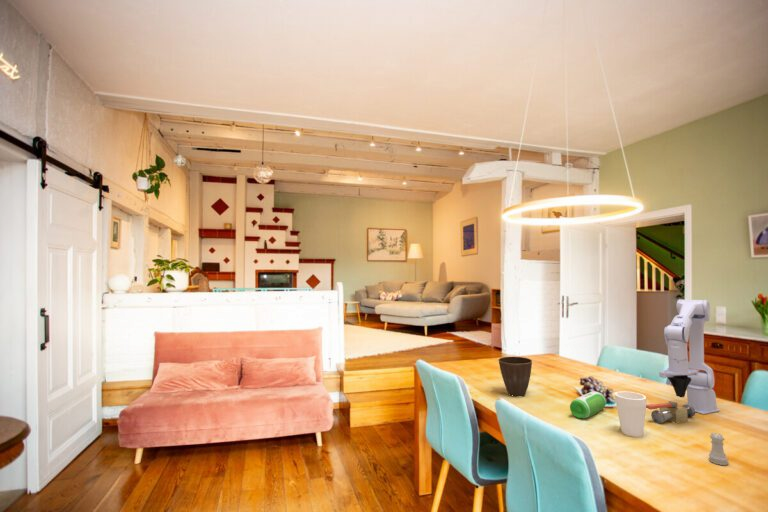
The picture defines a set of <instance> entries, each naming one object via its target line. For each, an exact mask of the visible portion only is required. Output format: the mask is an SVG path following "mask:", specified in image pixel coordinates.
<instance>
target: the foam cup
mask: <svg viewBox="0 0 768 512" xmlns="http://www.w3.org/2000/svg"><path fill="white" fill-rule="evenodd" d="M647 400H648V399H647V397H646V395H644V394H642V393H638V392H636V391H635V392H633V391H624V390H623V391H622V390H621V391H620V390H619V391H616V392H614V401H615V404H616V405H615V406H616V410H617V415H618V419H619V426H620V430H621V433H622V434H624V435H625V434H626V436H629V437H632V438H633V437H634V438H635V437H636V438H640V437H643V436H644V433H645V431H644V430H645V420H646V411H647V408H646V405H648V401H647Z"/></svg>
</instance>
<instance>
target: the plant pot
mask: <svg viewBox="0 0 768 512" xmlns="http://www.w3.org/2000/svg"><path fill="white" fill-rule="evenodd" d="M498 364H499V369H500V374H501V377H502V380H503V384H504V386H505V388H506V389H505V390H506V391H507V394H508V395H509V394H510V395H509V396H511V395H513V396H512V397H514V396H522V397H525V396H526V393H527V390H528V387H529V384H530V380H531V375H532V365H533V361H532V359H530V358H527V357H523V356H521V357H520V356H505V357H499V358H498ZM524 395H525V396H524Z"/></svg>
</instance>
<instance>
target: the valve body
mask: <svg viewBox="0 0 768 512" xmlns="http://www.w3.org/2000/svg"><path fill="white" fill-rule="evenodd" d="M650 414H651V418H652V420H653V421H654V422H655V423H657V424H663V423H664V422H665V421H668V422H670V421H671V423H673V422H674V423H673V424H676V423H677V424H681V422H682V423H686V422H688V421H689V420H688V419H689V418H692V417H694V416H695V415H696V412H695V410H694V408H693V407H692V406H691V405H688V403H687V404H683V405H682V406H681V405H678V407H665V408H659V410H658V409H654V410H652V412H651V413H650ZM688 417H689V418H688Z"/></svg>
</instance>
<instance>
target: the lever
mask: <svg viewBox="0 0 768 512" xmlns="http://www.w3.org/2000/svg"><path fill="white" fill-rule="evenodd" d="M678 406H679V405H678V403H677V402H676V401H667V402H665V403H654V404H653V403H650V404H648V403H647V405H646V409H648V410H658V409H660V408H665V407H678Z"/></svg>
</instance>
